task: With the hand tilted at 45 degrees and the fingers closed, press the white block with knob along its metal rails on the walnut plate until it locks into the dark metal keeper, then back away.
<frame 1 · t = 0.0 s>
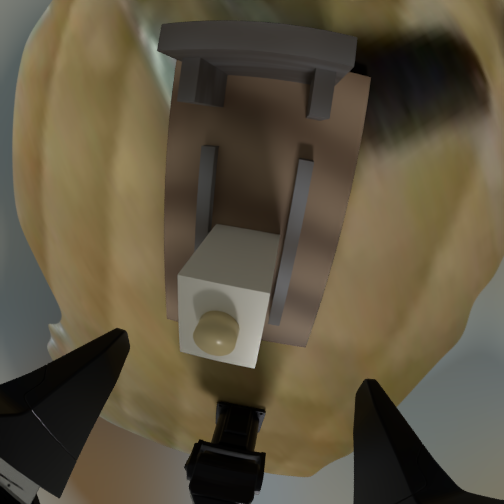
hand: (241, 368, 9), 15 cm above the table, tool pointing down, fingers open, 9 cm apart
lock plate: (251, 212, 22), on the table
white block with knob: (231, 294, 19), point 6 cm above the table, slide at 0.0 cm
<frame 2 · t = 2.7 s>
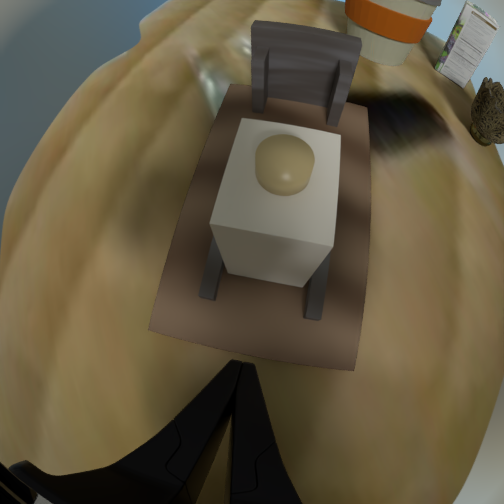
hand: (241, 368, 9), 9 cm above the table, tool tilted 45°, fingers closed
reusable coffee cup: (375, 50, 30), on the table
syrup box: (450, 74, 30), on the table
lock plate: (281, 196, 22), on the table
white block with knob: (277, 207, 15), point 6 cm above the table, slide at 0.0 cm
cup: (477, 138, 25), on the table
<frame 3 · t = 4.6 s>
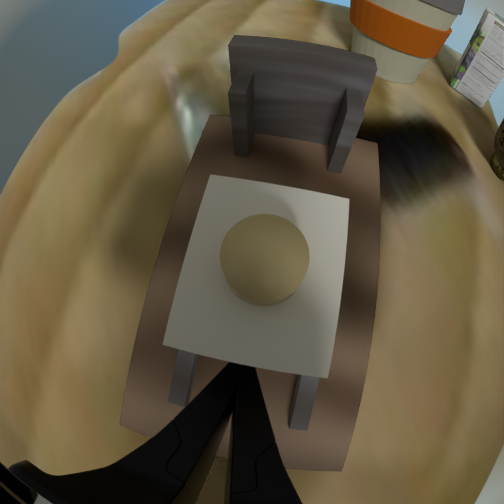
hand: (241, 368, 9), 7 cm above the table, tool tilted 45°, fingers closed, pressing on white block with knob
reusable coffee cup: (383, 64, 27), on the table
syrup box: (466, 91, 26), on the table
lock plate: (267, 272, 18), on the table
white block with knob: (262, 290, 12), point 6 cm above the table, slide at 1.6 cm, touching gripper
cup: (498, 171, 21), on the table
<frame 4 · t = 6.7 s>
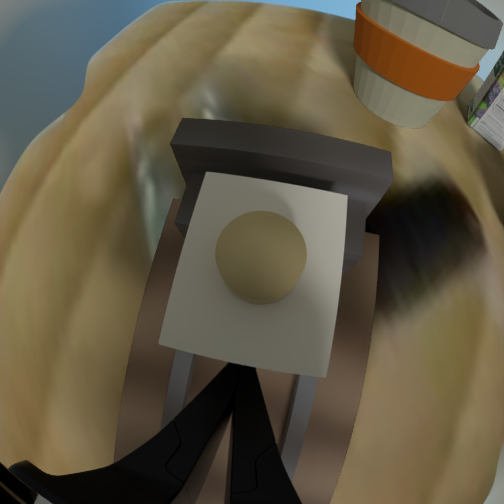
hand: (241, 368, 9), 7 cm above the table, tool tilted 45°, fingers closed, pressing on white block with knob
reusable coffee cup: (392, 99, 24), on the table
syrup box: (483, 128, 23), on the table
lock plate: (238, 404, 15), on the table
white block with knob: (259, 288, 12), point 6 cm above the table, slide at 10.2 cm, touching gripper
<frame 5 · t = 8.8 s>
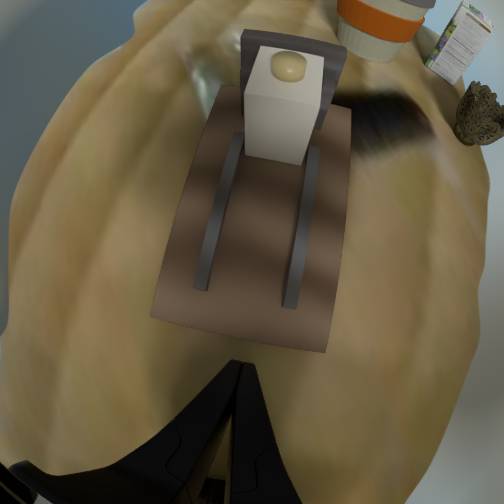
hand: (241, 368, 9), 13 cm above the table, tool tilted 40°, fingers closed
reusable coffee cup: (365, 45, 31), on the table
syrup box: (441, 70, 31), on the table
lock plate: (265, 197, 25), on the table
white block with knob: (283, 101, 20), point 6 cm above the table, slide at 10.2 cm
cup: (461, 137, 27), on the table
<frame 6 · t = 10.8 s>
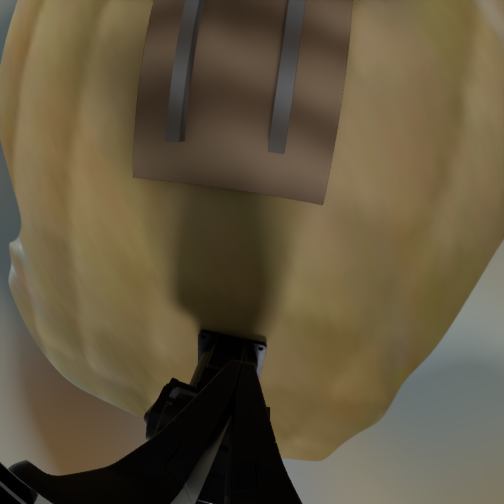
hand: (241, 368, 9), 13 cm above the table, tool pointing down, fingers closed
lock plate: (245, 25, 15), on the table
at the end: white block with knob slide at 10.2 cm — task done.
